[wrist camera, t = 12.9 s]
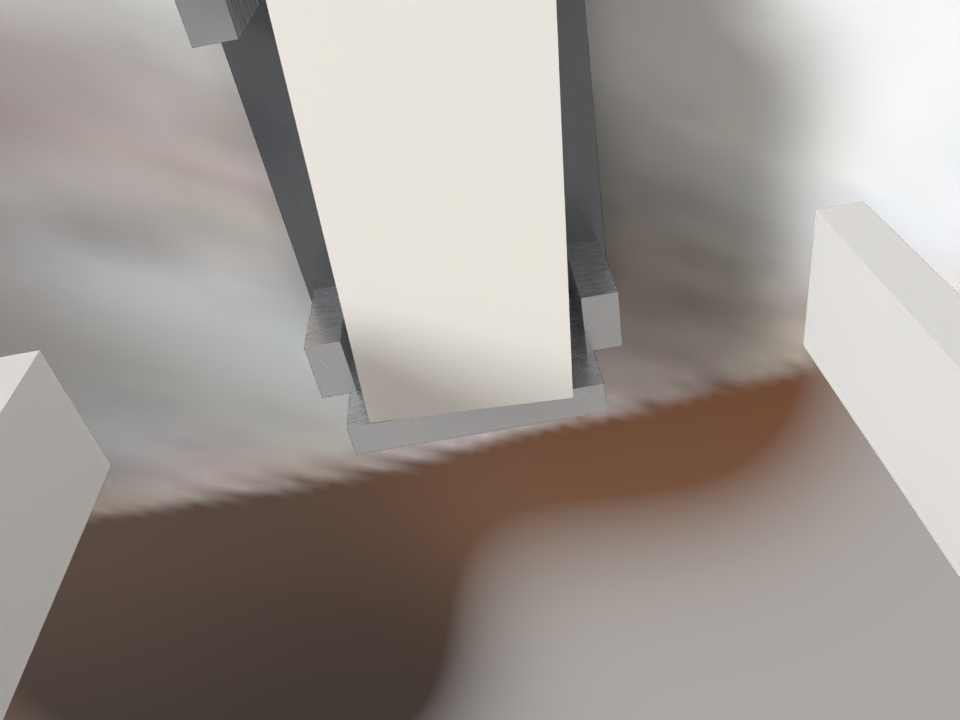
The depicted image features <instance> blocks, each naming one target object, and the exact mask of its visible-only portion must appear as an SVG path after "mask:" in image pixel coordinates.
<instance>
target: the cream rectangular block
mask: <svg viewBox="0 0 960 720" xmlns="http://www.w3.org/2000/svg"><path fill="white" fill-rule="evenodd" d="M266 3H267V7H268V11H269V16H270V20H271V24H272V28H273V32H274V36H275V40H276V44H277V48H278V52H279V56H280V60H281V64H282V68H283V72H284V77H285V81H286V85H287V89H288V93H289V97H290V101H291V105H292V109H293V113H294V117H295V121H296V125H297V129H298V133H299V137H300V142H301V146H302V150H303V154H304V158H305V162H306V166H307V170H308V174H309V178H310V182H311V186H312V190H313V194H314V198H315V203H316V207H317V211H318V215H319V219H320V223H321V227H322V231H323V235H324V239H325V243H326V247H327V251H328V255H329V259H330V264H331V268H332V272H333V276H334V280H335V284H336V288H337V292H338V296H339V300H340V304H341V308H342V312H343V316H344V320H345V325H346V329H347V333H348V337H349V341H350V345H351V349H352V353H353V357H354V361H355V365H356V369H357V373H358V377H359V381H360V385H361V390H362V394H363V398H364V402H365V406H366V410H367V414H368V418H369V422H370V423H371V422H379V421H387V420H395V419H403V418H412V417H420V416H428V415H436V414H444V413H452V412H461V411H469V410H477V409H485V408H493V407H501V406H510V405H518V404H526V403H534V402H542V401H550V400H558V399H567V398H573V387H572V363H571V339H570V316H569V292H568V268H567V245H566V221H565V197H564V174H563V150H562V126H561V103H560V79H559V55H558V32H557V8H556V0H266Z"/></svg>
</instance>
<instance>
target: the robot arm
mask: <svg viewBox="0 0 960 720" xmlns="http://www.w3.org/2000/svg"><path fill="white" fill-rule="evenodd" d="M803 345H804V347H805V348H806V350H807V351H808V353H809V354H810V356H811V357H812V359H813V360H814V362H815V363H816V365H817V366H818V367H819V369H820V370H821V372H822V373H823V375H824V376H825V378H826V379H827V381H828V382H829V384H830V385H831V387H832V388H833V390H834V391H835V393H836V394H837V396H838V397H839V399H840V400H841V402H842V403H843V405H844V406H845V408H846V409H847V411H848V412H849V414H850V415H851V417H852V418H853V420H854V421H855V422H856V424H857V425H858V427H859V428H860V430H861V431H862V433H863V434H864V436H865V437H866V439H867V440H868V442H869V443H870V445H871V446H872V448H873V449H874V451H875V452H876V454H877V455H878V457H879V458H880V459H881V461H882V463H883V464H884V465H885V467H886V469H887V470H888V471H889V473H890V475H891V476H892V477H893V479H894V480H895V482H896V483H897V485H898V486H899V487H900V489H901V491H902V492H903V494H904V495H905V497H906V498H907V500H908V501H909V503H910V504H911V506H912V507H913V508H914V510H915V511H916V513H917V515H918V516H919V518H920V519H921V521H922V522H923V524H924V525H925V527H926V528H927V530H928V531H929V533H930V534H931V535H932V537H933V538H934V540H935V541H936V543H937V544H938V546H939V547H940V549H941V550H942V552H943V553H944V555H945V556H946V558H947V559H948V561H949V562H950V564H951V565H952V567H953V568H954V570H955V571H956V573H957V574H958V575H959V577H960V294H959V293H958V292H957V291H956V290H955V289H954V288H952V287H951V286H950V285H949V284H948V283H947V282H946V281H945V280H944V279H943V278H942V277H941V276H940V275H939V274H938V273H937V272H936V271H935V270H934V269H933V268H932V267H931V266H930V265H929V264H928V263H927V262H926V261H925V260H924V259H923V258H922V257H921V256H920V255H919V254H917V253H916V252H915V251H914V250H913V249H912V248H911V247H910V246H909V245H908V244H907V243H906V242H905V241H904V240H903V239H902V238H901V237H900V236H899V235H898V234H897V233H896V232H895V231H894V230H893V229H892V228H891V227H890V226H889V225H888V224H887V223H886V222H885V221H883V220H882V219H881V218H880V217H879V216H878V215H877V214H876V213H875V212H874V211H873V210H872V209H871V208H870V207H869V206H868V205H867V204H866V203H865V202H864V201H862V202H857V203H851V204H846V205H840V206H835V207H829V208H823V209H818V210H816V218H815V228H814V239H813V249H812V260H811V270H810V281H809V291H808V302H807V312H806V323H805V333H804V344H803ZM110 467H111V464H110V462H109V460H108V459H107V457H106V456H105V454H104V452H103V451H102V449H101V448H100V446H99V444H98V443H97V441H96V440H95V438H94V436H93V435H92V433H91V431H90V430H89V428H88V427H87V425H86V423H85V422H84V420H83V419H82V417H81V415H80V414H79V412H78V411H77V409H76V407H75V406H74V404H73V403H72V401H71V399H70V398H69V396H68V394H67V393H66V391H65V390H64V388H63V386H62V385H61V383H60V382H59V380H58V378H57V377H56V375H55V374H54V372H53V370H52V369H51V367H50V365H49V364H48V362H47V361H46V359H45V357H44V356H43V354H42V353H41V351H40V350H37V351H32V352H26V353H21V354H15V355H10V356H4V357H0V720H3V718H4V716H5V713H6V711H7V708H8V706H9V704H10V701H11V699H12V697H13V695H14V692H15V690H16V688H17V685H18V683H19V681H20V678H21V676H22V673H23V671H24V669H25V666H26V663H27V662H28V659H29V657H30V655H31V652H32V650H33V648H34V645H35V643H36V640H37V638H38V636H39V634H40V631H41V629H42V626H43V624H44V622H45V619H46V617H47V615H48V612H49V610H50V608H51V605H52V603H53V601H54V598H55V596H56V594H57V591H58V589H59V587H60V584H61V582H62V580H63V577H64V575H65V572H66V570H67V568H68V565H69V563H70V561H71V558H72V556H73V554H74V551H75V549H76V547H77V544H78V542H79V540H80V537H81V535H82V533H83V530H84V528H85V526H86V523H87V521H88V518H89V516H90V514H91V511H92V509H93V507H94V504H95V502H96V500H97V497H98V495H99V493H100V490H101V488H102V486H103V483H104V481H105V479H106V476H107V474H108V472H109V469H110Z"/></svg>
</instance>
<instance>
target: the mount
mask: <svg viewBox="0 0 960 720" xmlns="http://www.w3.org/2000/svg"><path fill="white" fill-rule="evenodd" d="M175 3H176V5H177V8H178V11H179V14H180V16H181V19H182V22H183V24H184V27H185V30H186V32H187V35H188V38H189V40H190V43H191V46H192V48H196V47H201V46H206V45H211V44H216V43H222V46H223V49H224V52H225V55H226V57H227V60H228V63H229V66H230V69H231V72H232V75H233V77H234V80H235V83H236V86H237V89H238V92H239V95H240V97H241V100H242V103H243V106H244V109H245V112H246V115H247V117H248V120H249V123H250V126H251V129H252V132H253V135H254V137H255V140H256V143H257V146H258V149H259V152H260V155H261V158H262V160H263V163H264V166H265V169H266V172H267V175H268V178H269V180H270V183H271V186H272V189H273V192H274V195H275V198H276V200H277V203H278V206H279V209H280V212H281V215H282V218H283V220H284V223H285V226H286V229H287V232H288V235H289V238H290V240H291V243H292V246H293V249H294V252H295V255H296V258H297V260H298V263H299V266H300V269H301V272H302V275H303V278H304V280H305V283H306V286H307V289H308V292H309V295H310V298H311V301H312V306H311V312H310V317H309V323H308V328H307V334H306V339H305V344H304V349H305V352H306V355H307V357H308V360H309V363H310V365H311V368H312V371H313V374H314V376H315V379H316V382H317V384H318V387H319V390H320V392H321V395H322V398H325V397H331V396H336V395H342V394H348V393H350V398H349V409H348V419H347V431H348V433H349V436H350V439H351V442H352V445H353V447H354V450H355V453H356V455H357V454H363V453H368V452H374V451H380V450H386V449H392V448H398V447H404V446H409V445H415V444H421V443H427V442H433V441H439V440H444V439H450V438H456V437H462V436H468V435H474V434H480V433H485V432H491V431H497V430H503V429H509V428H515V427H520V426H526V425H532V424H538V423H544V422H550V421H556V420H561V419H567V418H573V417H579V416H585V415H591V414H596V413H602V412H607V410H606V399H605V388H604V382H603V379H602V375H601V372H600V369H599V366H598V362H597V359H596V356H595V353H594V350H600V349H605V348H611V347H617V346H622V337H621V324H620V310H619V297H618V290H617V288H616V285H615V283H614V280H613V277H612V275H611V272H610V270H609V267H608V265H607V262H606V255H605V243H604V231H603V219H602V207H601V195H600V183H599V171H598V158H597V146H596V134H595V122H594V110H593V98H592V86H591V74H590V62H589V50H588V38H587V25H586V13H585V1H584V0H556V8H557V32H558V55H559V79H560V103H561V126H562V150H563V174H564V197H565V221H566V245H567V268H568V292H569V316H570V339H571V363H572V387H573V398H567V399H558V400H550V401H542V402H534V403H526V404H518V405H510V406H501V407H493V408H485V409H477V410H469V411H461V412H452V413H444V414H436V415H428V416H420V417H412V418H403V419H395V420H387V421H379V422H371V423H370V422H369V418H368V414H367V410H366V406H365V402H364V398H363V394H362V390H361V385H360V381H359V377H358V373H357V369H356V365H355V361H354V357H353V353H352V349H351V345H350V341H349V337H348V333H347V329H346V325H345V320H344V316H343V312H342V308H341V304H340V300H339V296H338V292H337V288H336V284H335V280H334V276H333V272H332V268H331V264H330V259H329V255H328V251H327V247H326V243H325V239H324V235H323V231H322V227H321V223H320V219H319V215H318V211H317V207H316V203H315V198H314V194H313V190H312V186H311V182H310V178H309V174H308V170H307V166H306V162H305V158H304V154H303V150H302V146H301V142H300V137H299V133H298V129H297V125H296V121H295V117H294V113H293V109H292V105H291V101H290V97H289V93H288V89H287V85H286V81H285V77H284V72H283V68H282V64H281V60H280V56H279V52H278V48H277V44H276V40H275V36H274V32H273V28H272V24H271V20H270V16H269V11H268V7H267V3H266V0H175Z"/></svg>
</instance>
